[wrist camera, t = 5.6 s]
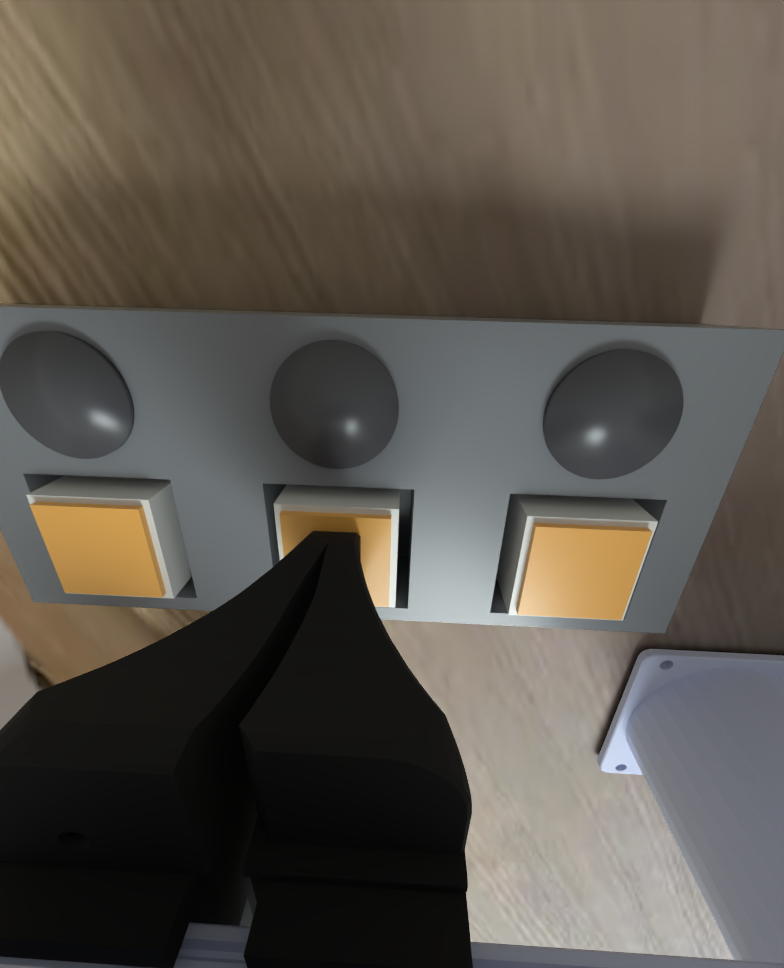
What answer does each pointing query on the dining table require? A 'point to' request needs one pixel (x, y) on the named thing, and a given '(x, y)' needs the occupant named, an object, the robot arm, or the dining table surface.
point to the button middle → (346, 527)
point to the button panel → (378, 435)
